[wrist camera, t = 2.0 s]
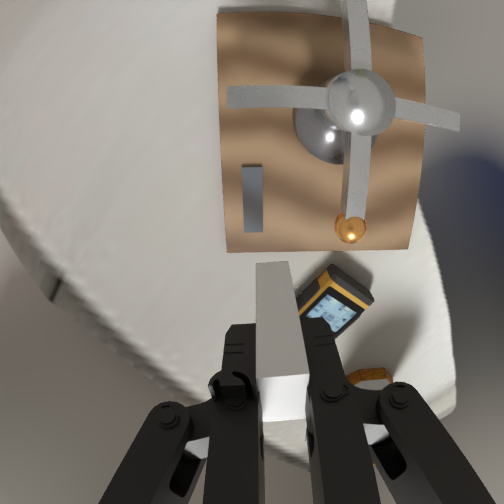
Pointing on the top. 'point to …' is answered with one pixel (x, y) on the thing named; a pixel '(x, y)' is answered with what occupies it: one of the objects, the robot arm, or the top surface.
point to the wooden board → (290, 149)
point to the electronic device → (334, 300)
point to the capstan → (345, 116)
